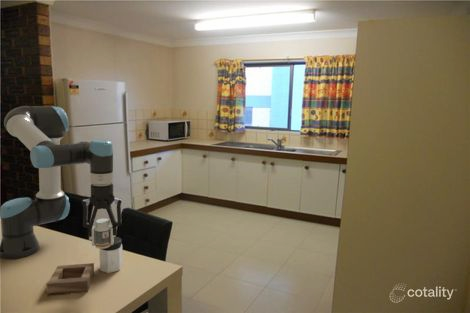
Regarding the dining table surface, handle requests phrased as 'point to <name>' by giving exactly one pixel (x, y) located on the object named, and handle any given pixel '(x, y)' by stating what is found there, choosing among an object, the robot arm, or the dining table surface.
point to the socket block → (70, 279)
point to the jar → (111, 257)
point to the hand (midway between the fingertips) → (103, 243)
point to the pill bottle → (102, 234)
